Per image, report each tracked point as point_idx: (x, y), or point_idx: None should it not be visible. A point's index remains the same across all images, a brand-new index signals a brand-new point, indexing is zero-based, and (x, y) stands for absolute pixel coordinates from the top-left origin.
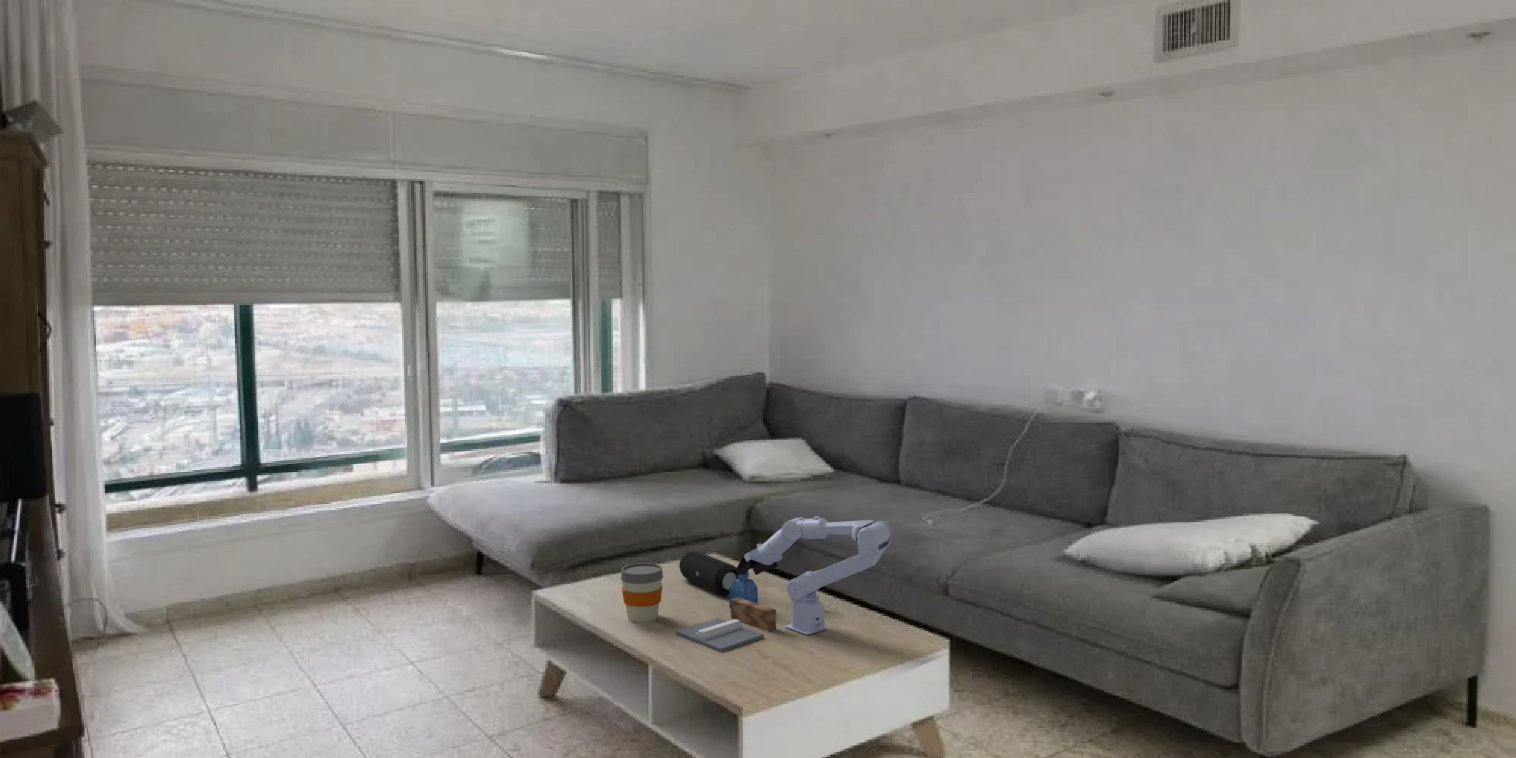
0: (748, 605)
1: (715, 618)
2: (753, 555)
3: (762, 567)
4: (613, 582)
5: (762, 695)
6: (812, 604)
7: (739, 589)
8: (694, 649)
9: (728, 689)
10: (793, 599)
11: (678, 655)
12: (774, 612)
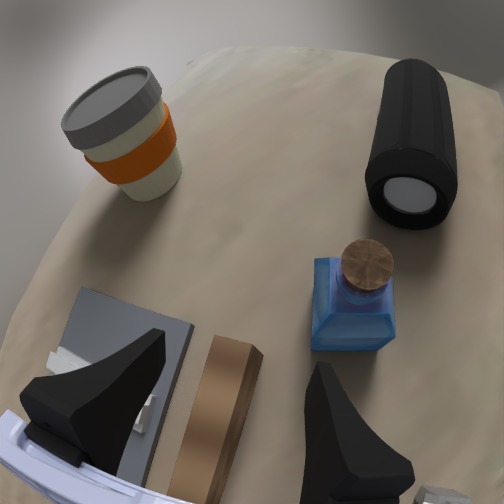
0: (186, 428)
1: (182, 322)
2: (29, 483)
3: (312, 444)
4: (298, 57)
5: None
6: None
7: (315, 305)
8: (38, 372)
9: None
10: None
11: (16, 357)
12: None
